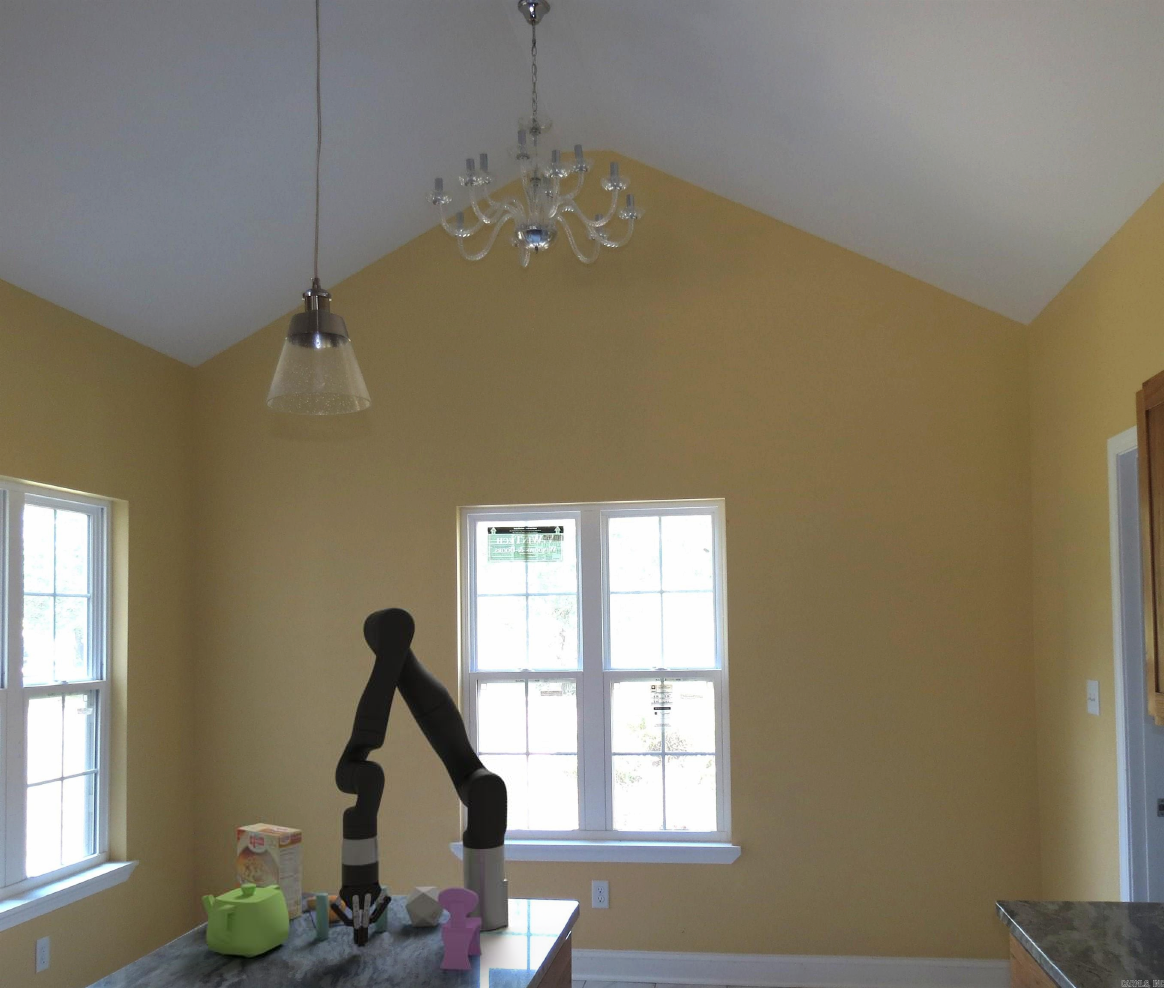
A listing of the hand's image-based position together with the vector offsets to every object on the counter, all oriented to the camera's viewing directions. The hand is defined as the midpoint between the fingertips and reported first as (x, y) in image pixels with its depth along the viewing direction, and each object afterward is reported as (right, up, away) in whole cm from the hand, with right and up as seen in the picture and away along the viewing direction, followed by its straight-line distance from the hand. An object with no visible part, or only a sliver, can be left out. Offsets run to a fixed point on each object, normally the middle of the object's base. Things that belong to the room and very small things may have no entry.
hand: (360, 945), depth 211 cm
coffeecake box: (-27, -5, +27) cm, 39 cm away
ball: (-11, -1, +21) cm, 24 cm away
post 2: (+2, -3, +14) cm, 15 cm away
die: (+11, -3, +17) cm, 21 cm away
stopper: (-12, -5, +33) cm, 35 cm away
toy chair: (+21, -1, -6) cm, 22 cm away
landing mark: (-9, -4, +25) cm, 27 cm away
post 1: (-10, -3, +10) cm, 15 cm away
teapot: (-26, -3, +5) cm, 27 cm away
